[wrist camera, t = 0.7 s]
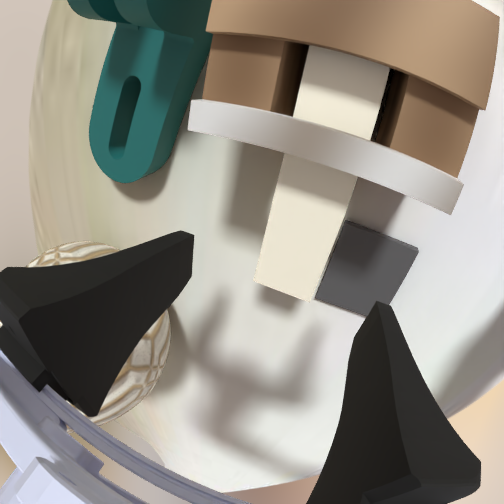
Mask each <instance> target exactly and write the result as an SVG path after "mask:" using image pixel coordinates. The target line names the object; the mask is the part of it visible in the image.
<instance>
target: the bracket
mask: <svg viewBox="0 0 504 504" xmlns="http://www.w3.org/2000/svg"><path fill="white" fill-rule="evenodd" d="M67 1H68V3H69V5H70V6H71V8H72V9H73V10H74V11H75V12H76V13H77V14H79V15H80V16H82V17H85V18H88V19H95V20H104V21H111V22H116V29H115V31H114V34H113V37H112V40H111V43H110V46H109V49H108V52H107V55H106V59H105V62H104V65H103V69H102V72H101V76H100V80H99V84H98V88H97V92H96V96H95V100H94V105H93V110H92V114H91V120H90V126H89V141H90V146H91V150H92V154H93V156H94V159H95V161H96V163H97V164H98V166H99V167H100V169H101V170H102V171H103V172H104V173H105V174H106V175H107V176H108V177H109V178H111V179H113V180H115V181H117V182H121V183H130V182H134V181H136V180H138V179H140V178H142V177H145V176H147V175H149V174H151V173H153V172H155V171H157V170H158V169H160V168H161V167H162V166H163V165H164V164H165V162H166V161H167V159H168V158H169V156H170V154H171V151H172V148H173V145H174V142H175V139H176V136H177V133H178V130H179V127H180V124H181V122H182V119H183V116H184V113H185V111H186V108H187V105H188V103H189V100H190V97H191V95H192V92H193V90H194V87H195V85H196V82H197V80H198V77H199V75H200V73H201V70H202V68H203V66H204V63H205V61H206V59H207V56H208V54H209V52H210V48H211V43H212V38H213V34H212V33H209V32H206V27H207V22H208V17H209V12H210V8H211V3H212V0H67Z"/></svg>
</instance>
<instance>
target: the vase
mask: <svg viewBox="0 0 504 504" xmlns="http://www.w3.org/2000/svg"><path fill="white" fill-rule="evenodd" d="M118 251H120V250H119V249H117V248H114V247H112V246H109V245H106V244H103V243H99V242H89V241H81V242H71V243H66V244H62V245H59V246H56V247H54V248H52V249H50V250H48V251H46V252H44V253H42V254H40V255H39V256H37V257H36V258H34V259H33V260H32V261H31V262H30V263H29V264H28V265H27V266H26V267H42V266H53V265H62V264H68V263H74V262H80V261H85V260H89V259H93V258H98V257H102V256H105V255H109V254H112V253H115V252H118ZM2 325H3V324H2V323H1V321H0V327H1V326H2ZM170 339H171V325H170V319H169V314H168V310H166V311H165V312H164V313H163V314H162V315H161V316H160V317H159V319H158V320H157V321H156V322H155V323H154V324H153V325H152V326H151V328H150V329H149V330H148V331H147V332H146V334H145V335H144V336H143V337H142V339H141V340H140V341H139V343H138V344H137V346H136V347H135V349H134V350H133V352H132V353H131V355H130V356H129V358H128V359H127V361H126V363H125V364H124V366H123V368H122V369H121V371H120V372H119V374H118V376H117V378H116V379H115V381H114V383H113V385H112V387H111V389H110V390H109V392H108V394H107V396H106V398H105V400H104V402H103V405H102V407H101V409H100V411H99V413H98V415H97V416H95V417H88V416H87V415H85V414H84V413H83V412H81V411H80V410H79V409H78V408H76V407H75V406H73V405H72V404H70V403H69V402H68V401H67V400H66V401H67V402H68V403H69V404H70V405H71V406H73V407H74V408H75V409H76V410H78V411H79V412H80V413H81V414H83V415H84V416H85V417H87V418H88V419H89V420H90V421H92V422H93V423H94V424H96V425H97V426H100V425H103V424H106V423H108V422H111V421H113V420H115V419H117V418H119V417H120V416H122V415H123V414H125V413H127V412H128V411H129V410H131V409H132V408H134V407H135V406H136V405H137V404H139V403H140V402H141V401H142V400H143V399H144V398H145V397H146V396H147V395H148V394H149V393H150V392H151V391H152V389H153V388H154V386H155V385H156V383H157V381H158V379H159V378H160V376H161V374H162V372H163V369H164V367H165V364H166V361H167V357H168V353H169V347H170ZM66 426H67V425H66ZM71 432H74V431H73V430H72V429H71V428H70V427H68V426H67V433H71Z"/></svg>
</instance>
